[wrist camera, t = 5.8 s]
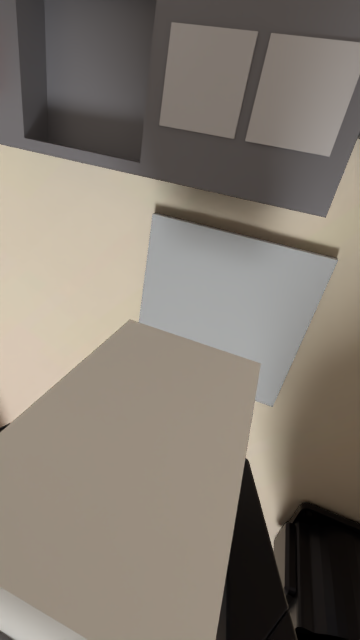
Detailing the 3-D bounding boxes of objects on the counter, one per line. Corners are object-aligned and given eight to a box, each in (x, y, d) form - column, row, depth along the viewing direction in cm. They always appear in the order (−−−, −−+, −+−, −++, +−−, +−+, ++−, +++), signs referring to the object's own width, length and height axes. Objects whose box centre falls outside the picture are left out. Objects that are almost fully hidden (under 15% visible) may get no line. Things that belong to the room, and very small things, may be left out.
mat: (336, 258, 14) (338, 260, 13) (272, 402, 18) (272, 407, 18) (155, 213, 15) (152, 213, 15) (137, 353, 20) (134, 356, 19)
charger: (261, 363, 9) (201, 721, 3) (224, 457, 11) (147, 778, 5) (129, 319, 10) (-112, 529, 4) (119, 414, 12) (-50, 645, 6)
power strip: (635, 32, 9) (824, -48, 6) (488, 247, 12) (559, 271, 9) (5, -23, 13) (-82, -84, 10) (17, 143, 16) (-47, 135, 13)
